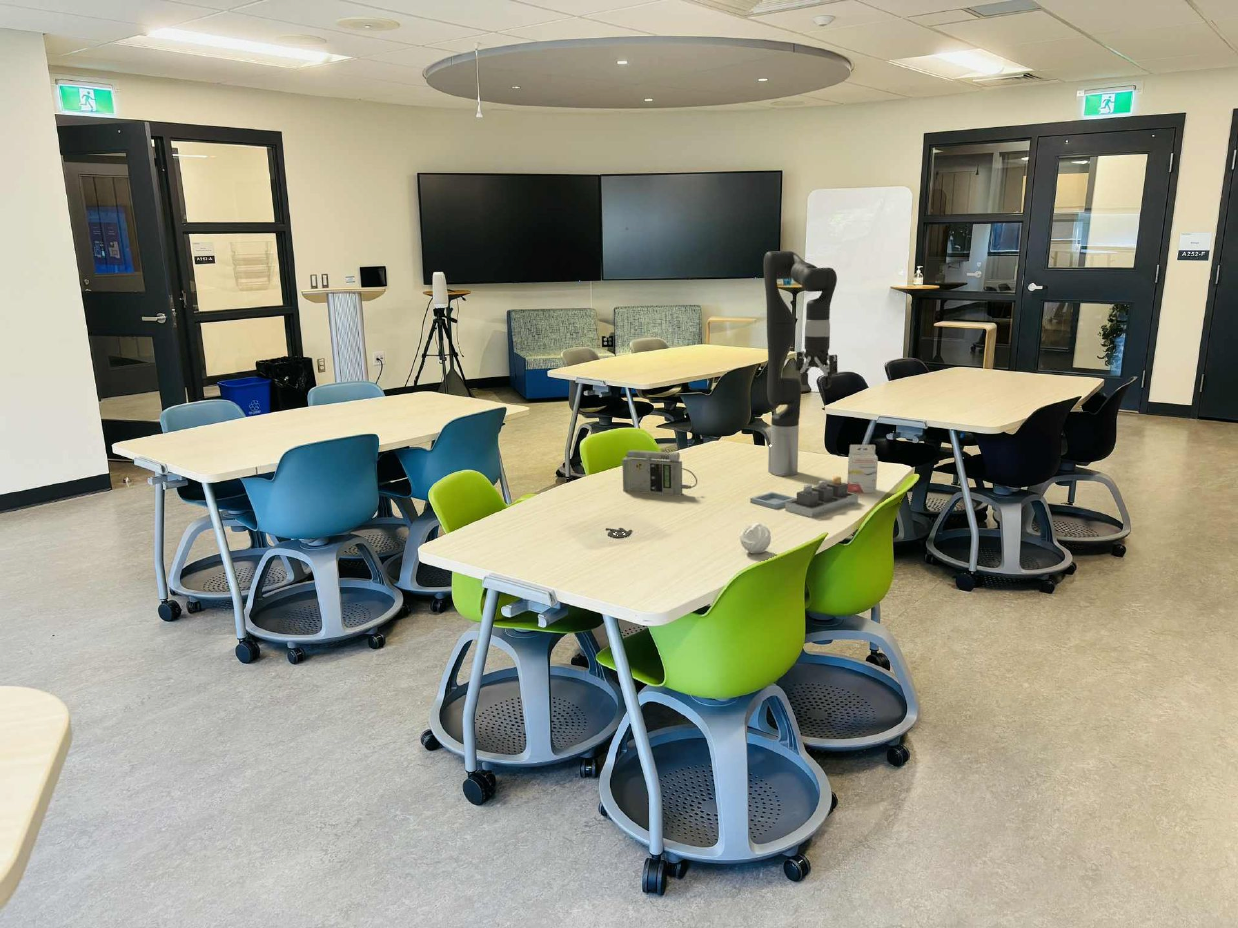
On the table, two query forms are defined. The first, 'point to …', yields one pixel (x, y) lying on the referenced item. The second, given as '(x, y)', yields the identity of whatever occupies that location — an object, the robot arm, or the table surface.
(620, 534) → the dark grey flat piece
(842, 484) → the plug
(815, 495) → the twin plug
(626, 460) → the geiger counter
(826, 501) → the twin plug
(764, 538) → the crumpled white ball
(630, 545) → the table surface
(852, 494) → the strip
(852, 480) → the ink cartridge box
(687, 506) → the table surface
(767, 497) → the tray
